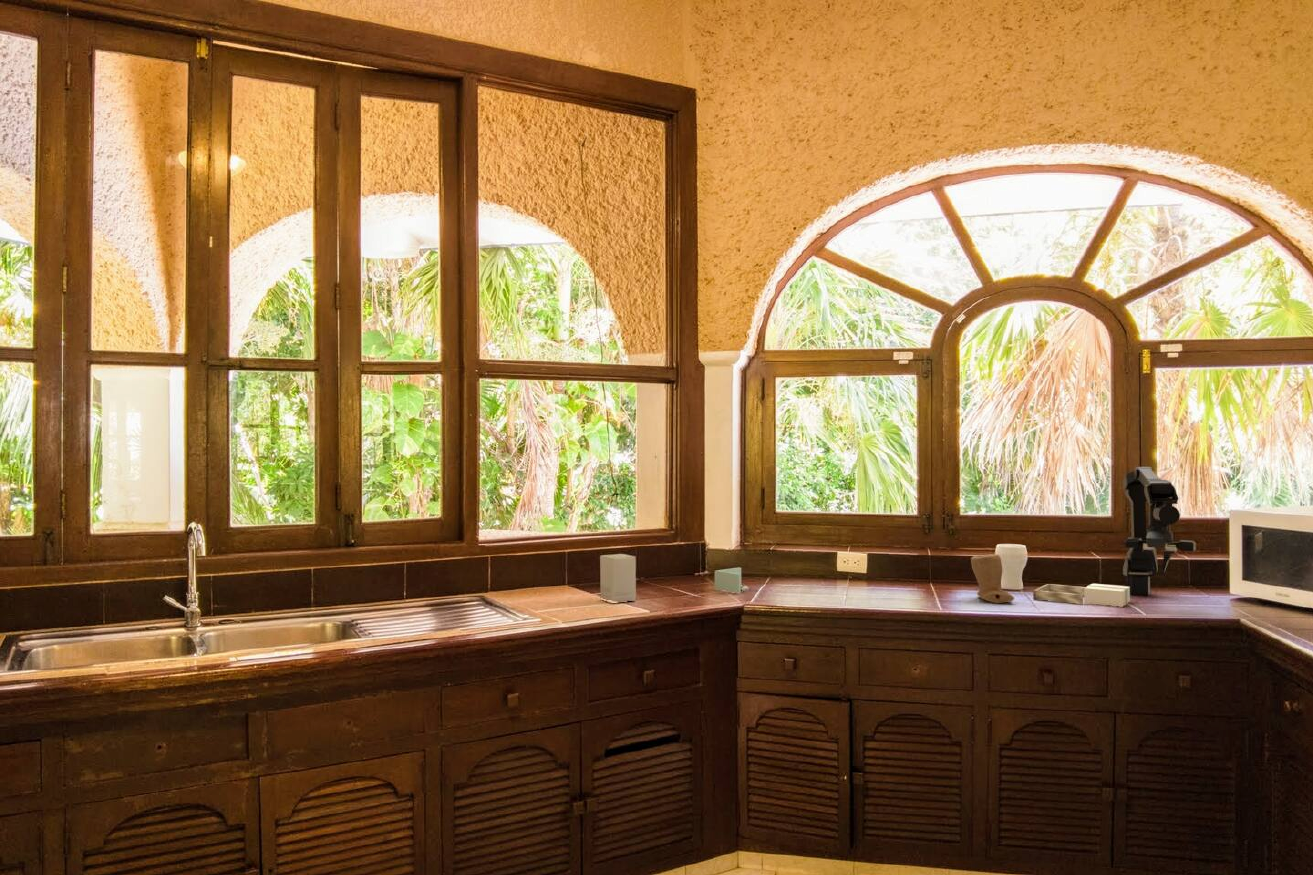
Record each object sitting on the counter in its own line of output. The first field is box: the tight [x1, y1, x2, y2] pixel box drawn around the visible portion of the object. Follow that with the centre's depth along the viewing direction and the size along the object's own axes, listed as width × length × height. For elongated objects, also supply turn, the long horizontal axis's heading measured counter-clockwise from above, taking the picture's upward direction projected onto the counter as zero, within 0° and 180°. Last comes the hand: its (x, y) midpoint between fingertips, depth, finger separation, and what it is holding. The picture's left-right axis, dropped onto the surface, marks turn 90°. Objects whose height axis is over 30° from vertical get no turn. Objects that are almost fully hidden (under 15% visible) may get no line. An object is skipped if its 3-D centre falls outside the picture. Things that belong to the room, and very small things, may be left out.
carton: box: [1083, 583, 1131, 608], centre depth 285 cm, size 11×11×5 cm
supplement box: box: [599, 553, 637, 601], centre depth 293 cm, size 9×9×15 cm
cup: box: [994, 543, 1028, 591], centre depth 315 cm, size 11×11×15 cm
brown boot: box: [970, 553, 1015, 604], centre depth 291 cm, size 15×12×15 cm
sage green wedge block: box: [714, 567, 749, 593], centre depth 313 cm, size 12×12×8 cm
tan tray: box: [1032, 583, 1085, 605], centre depth 293 cm, size 15×17×3 cm
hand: (1160, 572), depth 276 cm, fingers closed
